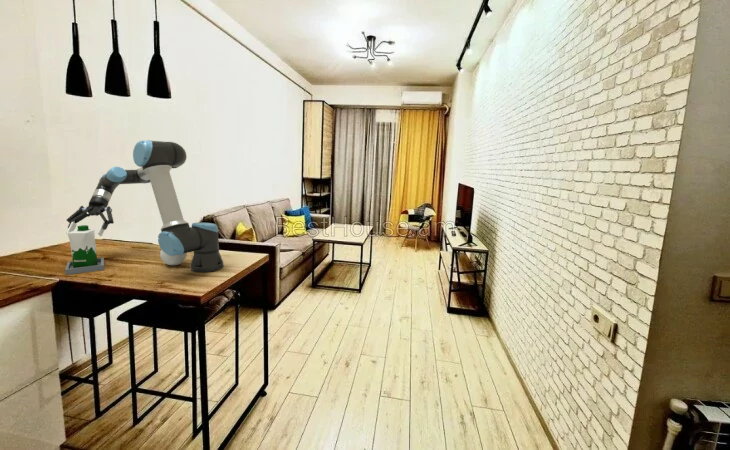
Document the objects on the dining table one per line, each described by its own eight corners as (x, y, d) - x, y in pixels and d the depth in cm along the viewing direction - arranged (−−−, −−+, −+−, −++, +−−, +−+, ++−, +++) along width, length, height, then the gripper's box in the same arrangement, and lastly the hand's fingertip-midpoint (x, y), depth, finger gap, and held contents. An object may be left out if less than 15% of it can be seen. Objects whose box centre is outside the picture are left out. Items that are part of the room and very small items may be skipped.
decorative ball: (171, 270, 166) (169, 246, 164) (155, 266, 171) (153, 243, 169) (192, 263, 177) (191, 241, 175) (177, 260, 182) (175, 238, 179)
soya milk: (100, 263, 170) (96, 224, 166) (91, 269, 161) (86, 228, 157) (80, 264, 167) (74, 225, 163) (69, 270, 159) (63, 229, 155)
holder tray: (104, 269, 163) (103, 264, 163) (65, 274, 155) (64, 269, 154) (104, 262, 174) (103, 257, 173) (68, 266, 166) (67, 261, 165)
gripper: (129, 204, 180) (115, 238, 168) (78, 204, 177) (60, 238, 165) (122, 195, 174) (108, 230, 162) (69, 195, 170) (50, 230, 159)
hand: (84, 234), depth 163 cm, fingers open, 13 cm apart
